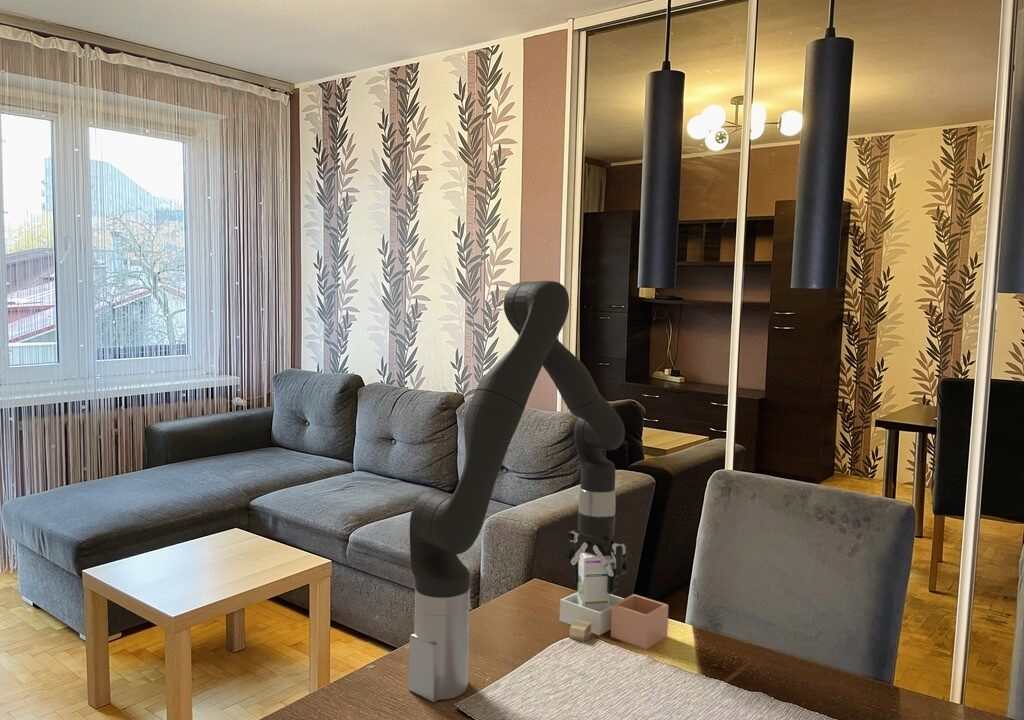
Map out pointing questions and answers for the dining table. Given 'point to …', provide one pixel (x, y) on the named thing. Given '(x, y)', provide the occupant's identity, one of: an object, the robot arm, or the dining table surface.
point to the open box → (639, 621)
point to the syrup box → (592, 582)
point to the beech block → (580, 630)
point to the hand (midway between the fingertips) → (594, 587)
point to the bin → (587, 613)
